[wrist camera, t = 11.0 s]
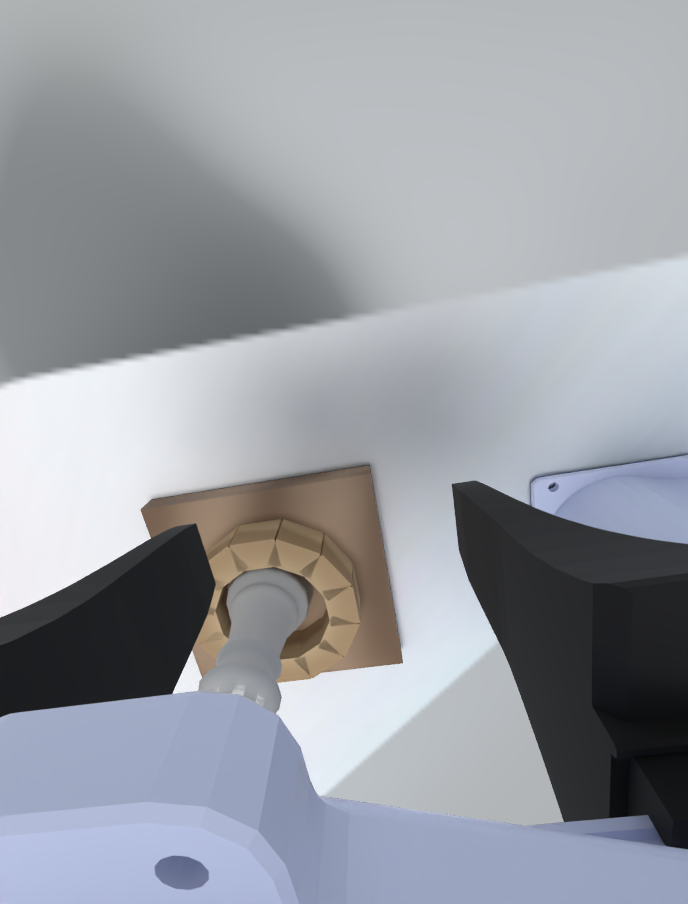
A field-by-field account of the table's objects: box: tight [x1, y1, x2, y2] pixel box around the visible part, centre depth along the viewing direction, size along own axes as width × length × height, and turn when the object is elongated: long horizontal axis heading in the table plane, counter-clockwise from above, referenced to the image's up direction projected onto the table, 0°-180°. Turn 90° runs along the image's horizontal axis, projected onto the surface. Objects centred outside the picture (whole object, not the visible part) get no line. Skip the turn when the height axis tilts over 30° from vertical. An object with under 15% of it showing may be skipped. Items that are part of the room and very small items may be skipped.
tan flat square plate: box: [141, 465, 403, 683], centre depth 23 cm, size 12×12×3 cm
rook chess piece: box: [198, 567, 313, 713], centre depth 20 cm, size 4×4×8 cm
